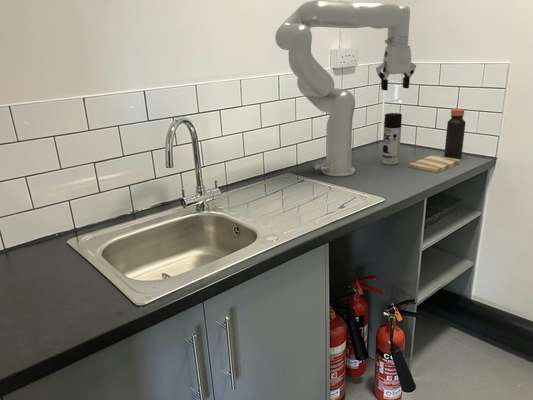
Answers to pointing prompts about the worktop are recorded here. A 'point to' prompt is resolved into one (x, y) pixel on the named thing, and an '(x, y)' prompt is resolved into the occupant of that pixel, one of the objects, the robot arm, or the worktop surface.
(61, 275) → the worktop surface
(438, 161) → the oak board
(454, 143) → the bottle
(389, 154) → the spray can
